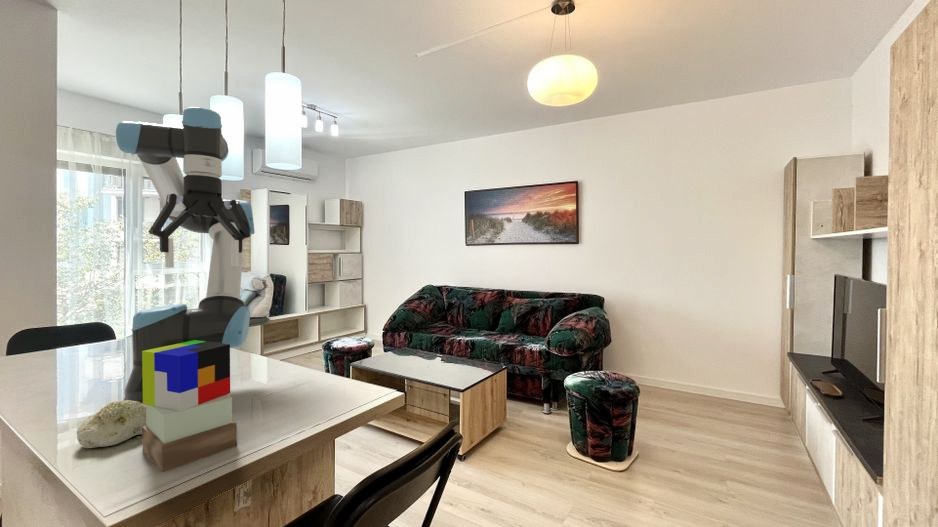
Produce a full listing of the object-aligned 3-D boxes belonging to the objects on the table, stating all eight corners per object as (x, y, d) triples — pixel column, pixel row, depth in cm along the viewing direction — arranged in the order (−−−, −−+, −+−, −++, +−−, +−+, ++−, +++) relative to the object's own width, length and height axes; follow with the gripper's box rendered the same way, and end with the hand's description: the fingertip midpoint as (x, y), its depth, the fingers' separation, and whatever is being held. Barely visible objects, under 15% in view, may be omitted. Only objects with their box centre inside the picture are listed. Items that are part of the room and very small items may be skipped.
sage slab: (146, 426, 76) (146, 400, 76) (210, 408, 85) (210, 385, 85) (163, 443, 70) (163, 415, 69) (232, 422, 78) (231, 397, 78)
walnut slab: (142, 452, 76) (142, 426, 76) (212, 430, 86) (212, 407, 86) (162, 474, 69) (162, 445, 69) (236, 447, 78) (236, 422, 78)
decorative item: (130, 403, 90) (159, 389, 87) (136, 442, 88) (165, 429, 85) (60, 416, 78) (91, 401, 76) (65, 462, 76) (96, 448, 74)
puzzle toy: (180, 411, 71) (179, 356, 71) (142, 403, 74) (142, 351, 74) (230, 393, 80) (229, 344, 80) (195, 387, 84) (194, 340, 84)
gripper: (141, 165, 81) (142, 268, 82) (264, 182, 101) (264, 265, 102) (130, 169, 86) (132, 267, 86) (250, 185, 106) (251, 265, 106)
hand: (204, 266), depth 94 cm, fingers open, 13 cm apart
